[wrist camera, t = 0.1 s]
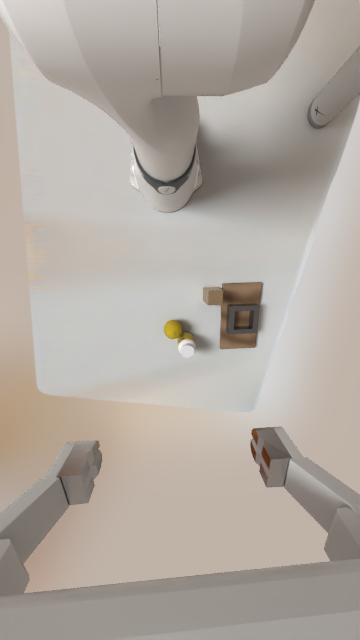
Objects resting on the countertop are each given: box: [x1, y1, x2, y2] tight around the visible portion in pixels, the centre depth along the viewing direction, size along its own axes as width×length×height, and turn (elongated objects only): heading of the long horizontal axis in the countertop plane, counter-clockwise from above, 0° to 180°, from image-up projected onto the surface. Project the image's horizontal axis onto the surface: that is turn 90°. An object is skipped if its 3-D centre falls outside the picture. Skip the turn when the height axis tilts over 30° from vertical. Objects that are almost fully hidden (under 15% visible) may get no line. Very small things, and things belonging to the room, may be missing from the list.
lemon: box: [164, 320, 182, 339], centre depth 54 cm, size 6×6×8 cm
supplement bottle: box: [178, 332, 196, 358], centre depth 55 cm, size 5×5×10 cm
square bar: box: [203, 287, 223, 305], centre depth 52 cm, size 4×4×8 cm
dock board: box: [220, 282, 262, 349], centre depth 57 cm, size 22×12×1 cm, turn 2°
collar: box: [226, 303, 260, 334], centre depth 55 cm, size 9×9×3 cm
